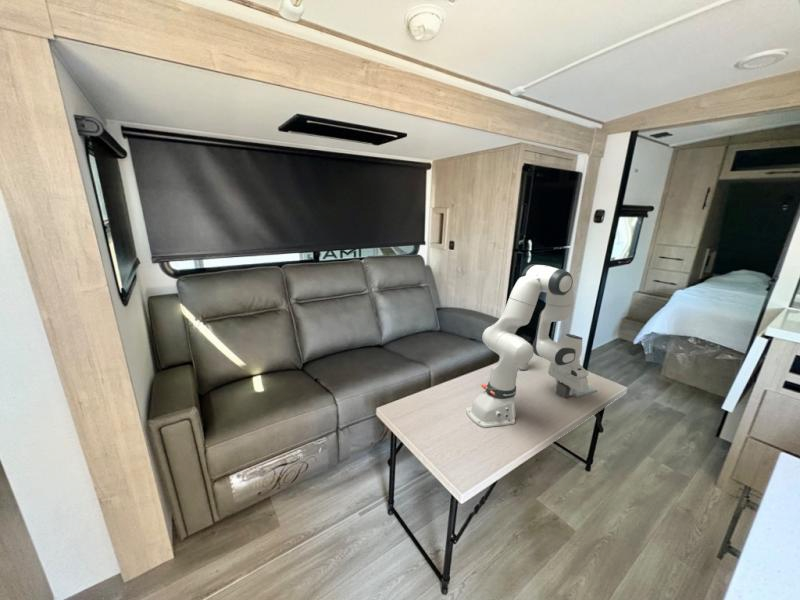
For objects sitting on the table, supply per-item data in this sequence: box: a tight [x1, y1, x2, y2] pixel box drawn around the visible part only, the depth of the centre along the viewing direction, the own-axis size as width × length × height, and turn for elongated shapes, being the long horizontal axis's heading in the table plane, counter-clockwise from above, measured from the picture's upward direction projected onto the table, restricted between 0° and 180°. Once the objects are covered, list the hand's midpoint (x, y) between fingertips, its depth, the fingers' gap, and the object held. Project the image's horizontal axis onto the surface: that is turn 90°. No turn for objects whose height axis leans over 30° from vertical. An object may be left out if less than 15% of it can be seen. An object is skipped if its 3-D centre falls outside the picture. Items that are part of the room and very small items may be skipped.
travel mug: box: [518, 334, 532, 372], centre depth 182 cm, size 6×7×20 cm
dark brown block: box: [556, 382, 573, 398], centre depth 157 cm, size 5×5×6 cm
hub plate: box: [572, 384, 598, 398], centre depth 163 cm, size 14×12×5 cm
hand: (564, 391), depth 157 cm, fingers closed on dark brown block, 5 cm apart
